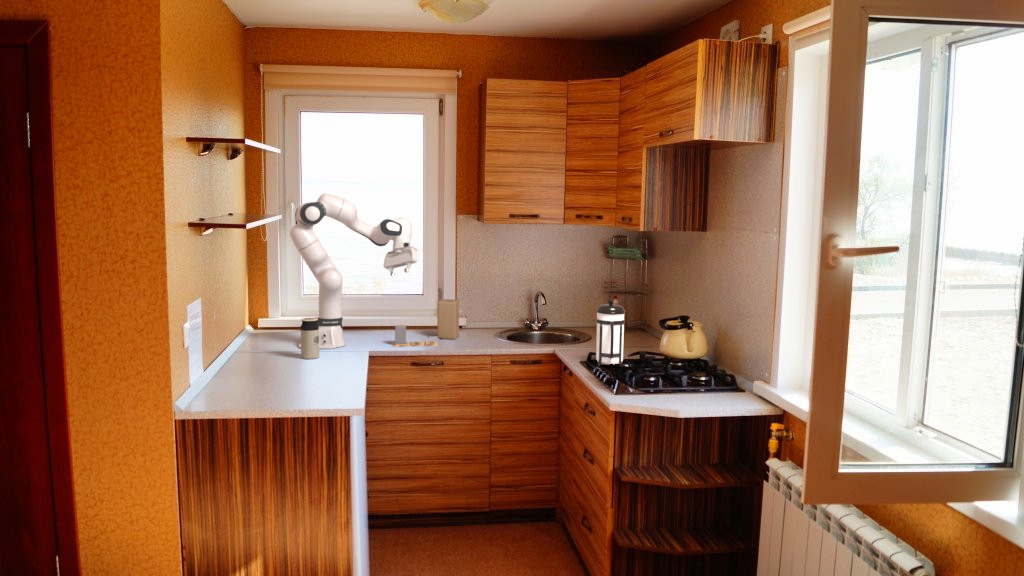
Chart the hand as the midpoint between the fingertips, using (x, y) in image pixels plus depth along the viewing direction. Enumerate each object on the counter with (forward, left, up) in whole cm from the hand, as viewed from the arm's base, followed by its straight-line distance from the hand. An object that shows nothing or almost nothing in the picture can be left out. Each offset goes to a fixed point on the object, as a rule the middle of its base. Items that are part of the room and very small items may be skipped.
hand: (399, 273), depth 382 cm
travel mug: (-42, -29, -36) cm, 62 cm away
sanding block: (0, -10, -34) cm, 35 cm away
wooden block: (+26, +13, -36) cm, 46 cm away
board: (+7, -10, -35) cm, 37 cm away
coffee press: (+90, -65, -36) cm, 117 cm away
